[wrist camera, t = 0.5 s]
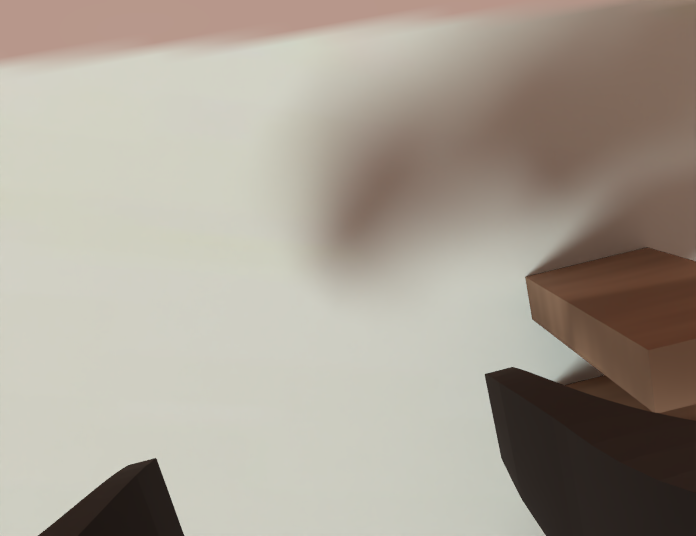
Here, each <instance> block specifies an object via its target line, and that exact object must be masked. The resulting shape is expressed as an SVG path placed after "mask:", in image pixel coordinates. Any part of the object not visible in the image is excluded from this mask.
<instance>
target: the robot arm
mask: <svg viewBox="0 0 696 536" xmlns="http://www.w3.org/2000/svg"><path fill="white" fill-rule="evenodd" d="M485 378H486V383H487V388H488V393H489V398H490V403H491V408H492V413H493V418H494V423H495V428H496V433H497V438H498V443H499V448H500V453H501V458H502V460H503V462H504V464H505V466H506V468H507V470H508V473H509V475H510V477H511V479H512V481H513V483H514V485H515V487H516V489H517V491H518V493H519V495H520V497H521V498H522V500H523V501H524V503H525V505H526V506H527V508H528V509H529V511H530V512H531V514H532V515H533V517H534V518H535V520H536V521H537V523H538V524H539V526H540V527H541V529H542V530H543V532H544V533H545V535H546V536H696V421H695V420H689V419H683V418H678V417H674V416H669V415H664V414H659V413H655V412H650V411H646V410H642V409H638V408H634V407H630V406H626V405H623V404H620V403H616V402H613V401H609V400H606V399H603V398H599V397H596V396H593V395H590V394H587V393H584V392H581V391H578V390H576V389H573V388H570V387H567V386H565V385H562V384H559V383H556V382H554V381H551V380H548V379H546V378H543V377H541V376H538V375H535V374H532V373H530V372H527V371H524V370H521V369H518V368H514V367H511V368H507V369H503V370H499V371H495V372H491V373H487V374H485ZM38 536H184V534H183V531H182V528H181V526H180V523H179V520H178V517H177V515H176V512H175V509H174V506H173V504H172V501H171V498H170V495H169V492H168V490H167V487H166V484H165V481H164V479H163V476H162V473H161V470H160V467H159V465H158V462H157V459H156V458H155V459H151V460H147V461H143V462H139V463H135V464H131V465H128V466H126V467H125V468H123V469H121V470H120V471H118V472H117V473H116V474H114V475H113V476H111V477H110V478H109V479H107V480H106V481H105V482H104V483H102V484H101V485H100V486H99V487H97V488H96V489H95V490H94V491H92V492H91V493H90V494H89V495H87V496H86V497H85V498H84V499H83V500H81V501H80V502H79V503H78V504H77V505H75V506H74V507H73V508H72V509H70V510H69V511H68V512H67V513H66V514H64V515H63V516H62V517H61V518H59V519H58V520H57V521H56V522H55V523H53V524H52V525H51V526H50V527H48V528H47V529H46V530H45V531H43V532H42V533H41V534H40V535H38Z"/></svg>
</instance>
